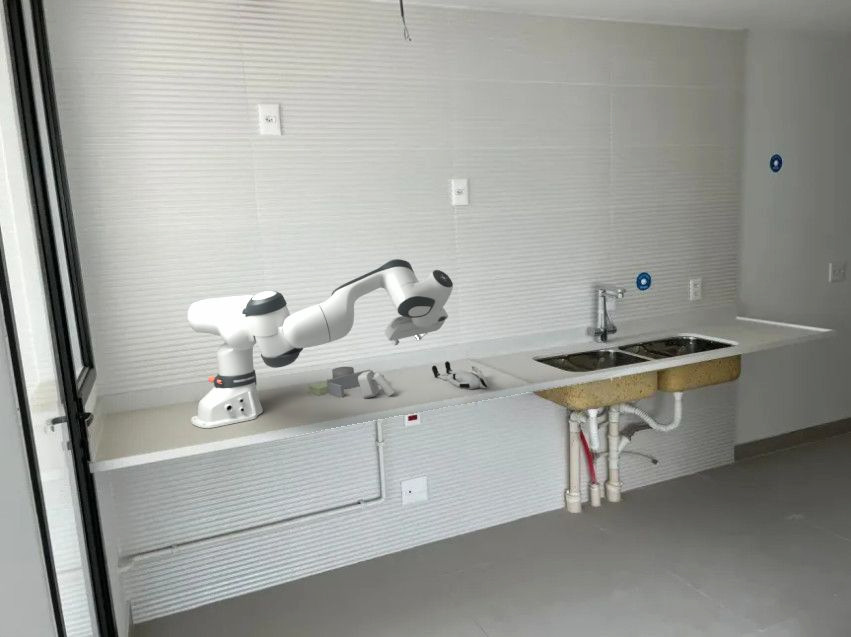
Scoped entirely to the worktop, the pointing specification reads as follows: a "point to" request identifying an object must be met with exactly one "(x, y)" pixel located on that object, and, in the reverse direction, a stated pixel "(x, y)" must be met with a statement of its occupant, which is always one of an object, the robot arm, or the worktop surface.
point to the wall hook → (373, 384)
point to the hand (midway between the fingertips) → (406, 341)
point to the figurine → (463, 377)
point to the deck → (338, 382)
